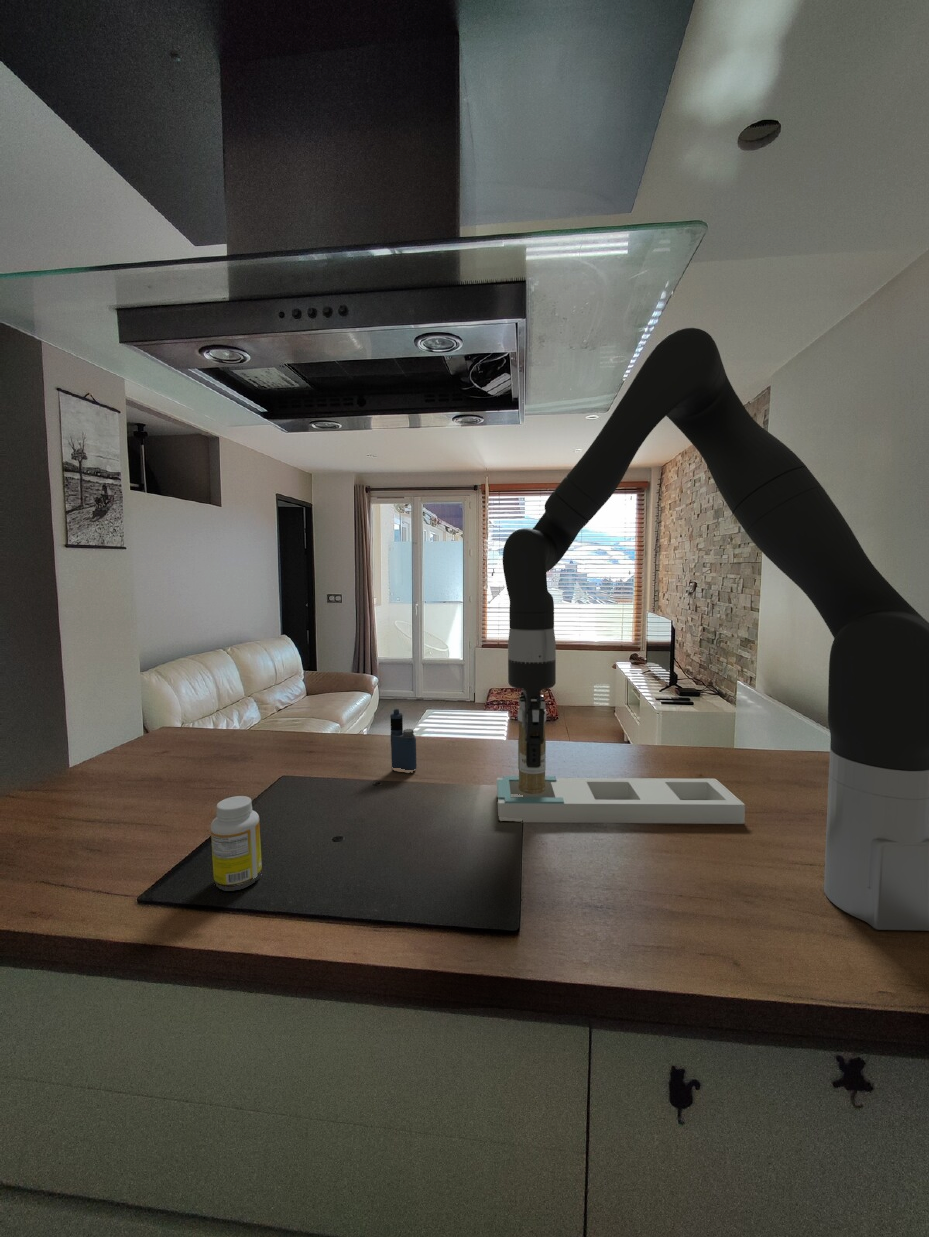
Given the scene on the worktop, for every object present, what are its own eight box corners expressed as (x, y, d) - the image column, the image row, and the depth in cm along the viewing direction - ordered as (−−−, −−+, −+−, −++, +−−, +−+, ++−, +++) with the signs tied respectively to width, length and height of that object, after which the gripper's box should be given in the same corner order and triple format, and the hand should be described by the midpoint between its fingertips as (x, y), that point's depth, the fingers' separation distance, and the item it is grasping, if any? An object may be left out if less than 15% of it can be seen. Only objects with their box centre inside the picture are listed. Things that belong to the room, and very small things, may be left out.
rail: (744, 823, 78) (745, 802, 77) (498, 822, 79) (498, 801, 79) (714, 795, 88) (715, 776, 87) (497, 794, 89) (496, 776, 89)
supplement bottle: (241, 864, 68) (237, 789, 67) (271, 875, 66) (268, 797, 65) (203, 887, 63) (199, 806, 63) (234, 899, 61) (230, 816, 60)
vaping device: (395, 766, 103) (394, 707, 102) (418, 770, 101) (417, 710, 100) (388, 771, 101) (387, 710, 100) (412, 774, 99) (411, 713, 98)
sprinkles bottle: (524, 797, 81) (524, 713, 80) (513, 785, 85) (513, 706, 84) (551, 793, 82) (551, 710, 81) (538, 782, 86) (538, 703, 85)
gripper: (562, 663, 75) (561, 778, 76) (549, 649, 89) (549, 746, 90) (510, 664, 75) (510, 778, 76) (506, 650, 89) (506, 746, 91)
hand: (531, 760), depth 83 cm, fingers closed on sprinkles bottle, 4 cm apart
